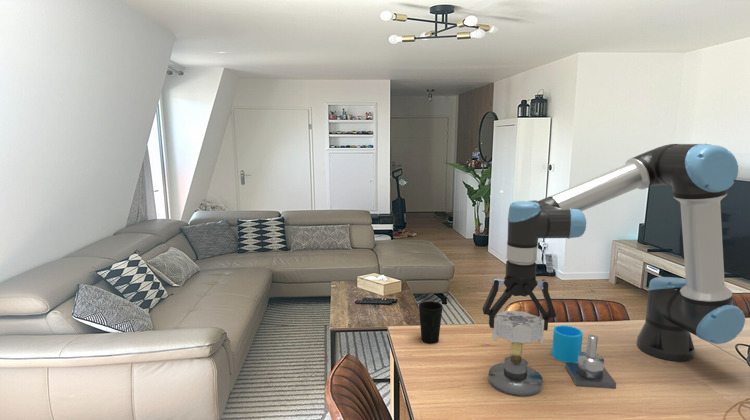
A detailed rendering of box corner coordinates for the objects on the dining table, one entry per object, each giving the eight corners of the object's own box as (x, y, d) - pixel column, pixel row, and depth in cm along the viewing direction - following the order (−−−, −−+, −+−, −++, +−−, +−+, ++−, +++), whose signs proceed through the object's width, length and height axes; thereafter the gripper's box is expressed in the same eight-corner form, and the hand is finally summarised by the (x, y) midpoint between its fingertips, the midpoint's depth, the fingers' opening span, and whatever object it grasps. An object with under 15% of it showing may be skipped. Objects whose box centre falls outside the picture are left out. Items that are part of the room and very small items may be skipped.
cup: (425, 333, 153) (426, 299, 151) (445, 339, 148) (446, 304, 146) (413, 341, 147) (414, 306, 145) (434, 347, 142) (435, 311, 140)
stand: (601, 369, 129) (605, 329, 127) (615, 388, 119) (619, 345, 117) (565, 367, 130) (568, 328, 128) (576, 385, 120) (579, 343, 118)
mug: (586, 362, 133) (588, 336, 131) (558, 363, 133) (560, 336, 131) (567, 344, 145) (569, 320, 143) (542, 344, 144) (544, 320, 143)
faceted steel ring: (534, 325, 125) (535, 312, 124) (544, 343, 114) (545, 328, 113) (493, 323, 126) (493, 310, 125) (499, 341, 115) (499, 326, 114)
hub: (535, 370, 128) (538, 329, 126) (548, 398, 114) (551, 352, 112) (485, 367, 130) (487, 326, 128) (492, 394, 116) (493, 349, 114)
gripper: (564, 258, 119) (559, 336, 122) (473, 255, 122) (471, 331, 125) (573, 266, 112) (567, 348, 115) (476, 263, 115) (473, 343, 118)
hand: (517, 340), depth 120 cm, fingers closed on faceted steel ring, 11 cm apart
